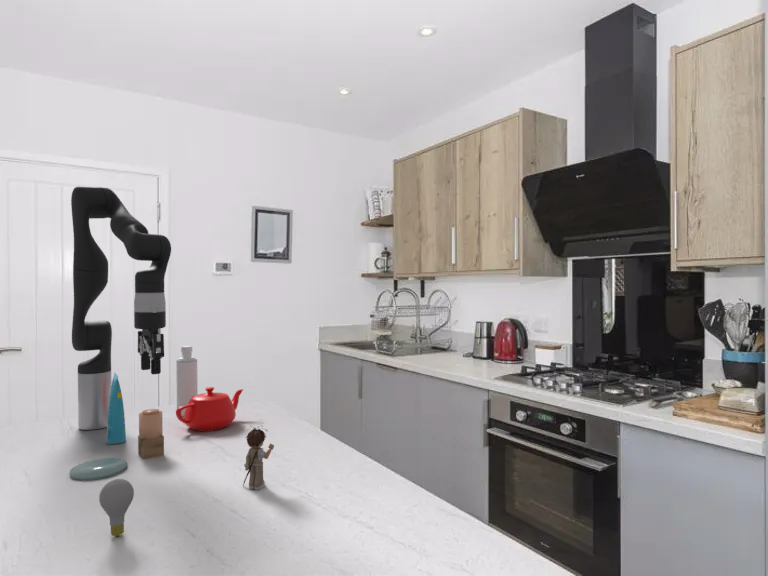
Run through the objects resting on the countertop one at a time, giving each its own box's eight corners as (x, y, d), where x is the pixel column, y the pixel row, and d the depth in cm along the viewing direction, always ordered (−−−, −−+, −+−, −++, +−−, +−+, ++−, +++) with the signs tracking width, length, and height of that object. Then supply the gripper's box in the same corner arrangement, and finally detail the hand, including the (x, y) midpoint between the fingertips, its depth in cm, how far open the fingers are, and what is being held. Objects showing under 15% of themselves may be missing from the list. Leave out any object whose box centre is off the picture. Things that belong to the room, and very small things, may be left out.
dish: (65, 469, 124) (65, 465, 124) (120, 458, 132) (119, 454, 132) (75, 484, 115) (75, 480, 115) (133, 471, 123) (133, 467, 123)
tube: (128, 443, 144) (128, 375, 144) (109, 446, 141) (108, 377, 141) (122, 437, 150) (121, 371, 150) (103, 440, 147) (103, 373, 147)
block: (138, 454, 135) (138, 435, 135) (158, 450, 138) (158, 431, 138) (143, 459, 131) (143, 440, 131) (164, 455, 134) (163, 436, 134)
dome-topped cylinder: (136, 435, 135) (136, 410, 135) (158, 431, 139) (158, 407, 138) (142, 440, 131) (142, 414, 131) (165, 436, 134) (165, 411, 134)
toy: (275, 483, 115) (275, 417, 114) (262, 492, 109) (261, 423, 109) (251, 480, 117) (251, 414, 117) (237, 489, 111) (236, 421, 111)
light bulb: (108, 529, 94) (107, 474, 94) (139, 527, 94) (138, 473, 94) (93, 544, 88) (93, 486, 88) (126, 542, 89) (126, 485, 89)
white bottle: (172, 416, 173) (172, 342, 173) (183, 411, 179) (183, 340, 179) (191, 417, 172) (190, 342, 171) (201, 412, 178) (200, 340, 178)
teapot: (192, 440, 147) (192, 397, 147) (161, 431, 156) (161, 391, 156) (259, 420, 168) (259, 383, 168) (228, 413, 177) (228, 378, 176)
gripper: (127, 309, 137) (127, 370, 137) (142, 311, 127) (143, 377, 127) (156, 308, 142) (157, 367, 142) (174, 310, 131) (174, 373, 132)
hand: (150, 371), depth 135 cm, fingers open, 8 cm apart
